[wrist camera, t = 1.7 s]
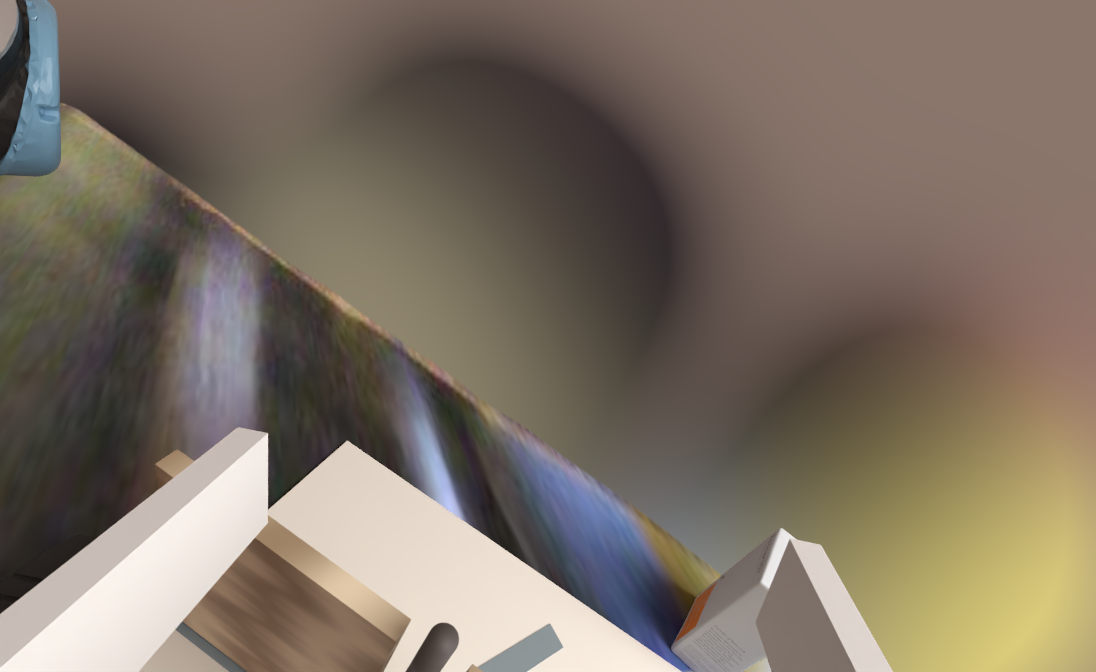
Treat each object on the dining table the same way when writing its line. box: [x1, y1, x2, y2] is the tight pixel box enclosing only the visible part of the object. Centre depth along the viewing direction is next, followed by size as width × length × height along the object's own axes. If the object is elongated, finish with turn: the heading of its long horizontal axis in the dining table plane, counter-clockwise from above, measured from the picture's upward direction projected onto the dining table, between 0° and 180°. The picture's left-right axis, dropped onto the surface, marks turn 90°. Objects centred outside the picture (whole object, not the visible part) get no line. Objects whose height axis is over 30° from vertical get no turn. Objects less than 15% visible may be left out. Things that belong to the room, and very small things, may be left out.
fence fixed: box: [155, 449, 459, 672], centre depth 26 cm, size 15×3×17 cm, turn 64°
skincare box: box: [671, 528, 796, 672], centre depth 40 cm, size 6×4×12 cm
